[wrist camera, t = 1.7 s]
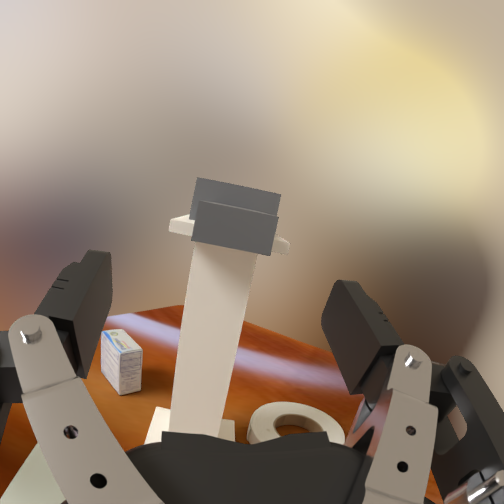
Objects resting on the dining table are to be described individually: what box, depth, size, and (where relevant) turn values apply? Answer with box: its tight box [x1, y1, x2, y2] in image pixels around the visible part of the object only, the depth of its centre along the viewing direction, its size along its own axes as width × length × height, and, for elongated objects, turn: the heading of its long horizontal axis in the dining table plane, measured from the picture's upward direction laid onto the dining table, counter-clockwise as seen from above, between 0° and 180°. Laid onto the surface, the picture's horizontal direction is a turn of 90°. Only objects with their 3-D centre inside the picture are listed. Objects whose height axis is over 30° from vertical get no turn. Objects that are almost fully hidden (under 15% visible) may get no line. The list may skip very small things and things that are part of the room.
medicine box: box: [101, 329, 143, 395], centre depth 47 cm, size 8×4×9 cm, turn 48°
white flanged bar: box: [145, 214, 290, 444], centre depth 33 cm, size 12×14×31 cm
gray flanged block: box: [189, 178, 281, 256], centre depth 26 cm, size 8×22×4 cm, turn 4°
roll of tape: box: [247, 402, 345, 445], centre depth 43 cm, size 16×15×3 cm
